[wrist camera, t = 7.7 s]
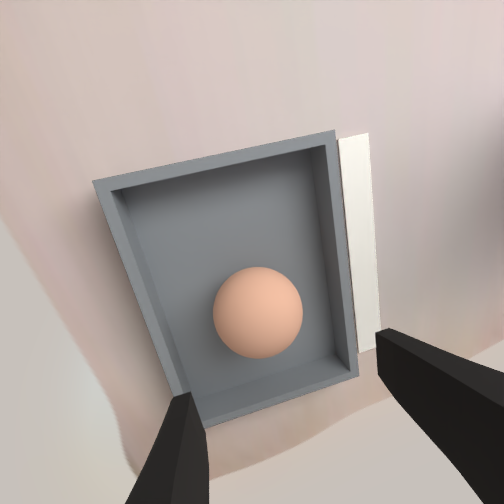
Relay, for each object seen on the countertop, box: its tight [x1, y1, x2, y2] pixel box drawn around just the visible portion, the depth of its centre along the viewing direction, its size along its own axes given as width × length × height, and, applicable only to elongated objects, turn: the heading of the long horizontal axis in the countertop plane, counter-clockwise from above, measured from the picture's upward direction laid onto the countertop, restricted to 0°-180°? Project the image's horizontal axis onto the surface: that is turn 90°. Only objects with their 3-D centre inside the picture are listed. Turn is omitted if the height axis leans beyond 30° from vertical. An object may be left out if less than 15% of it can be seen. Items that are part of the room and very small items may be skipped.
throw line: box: [338, 133, 381, 353], centre depth 20 cm, size 2×16×1 cm, turn 12°
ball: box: [213, 267, 303, 359], centre depth 16 cm, size 5×5×5 cm
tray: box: [92, 130, 359, 429], centre depth 17 cm, size 12×16×3 cm
